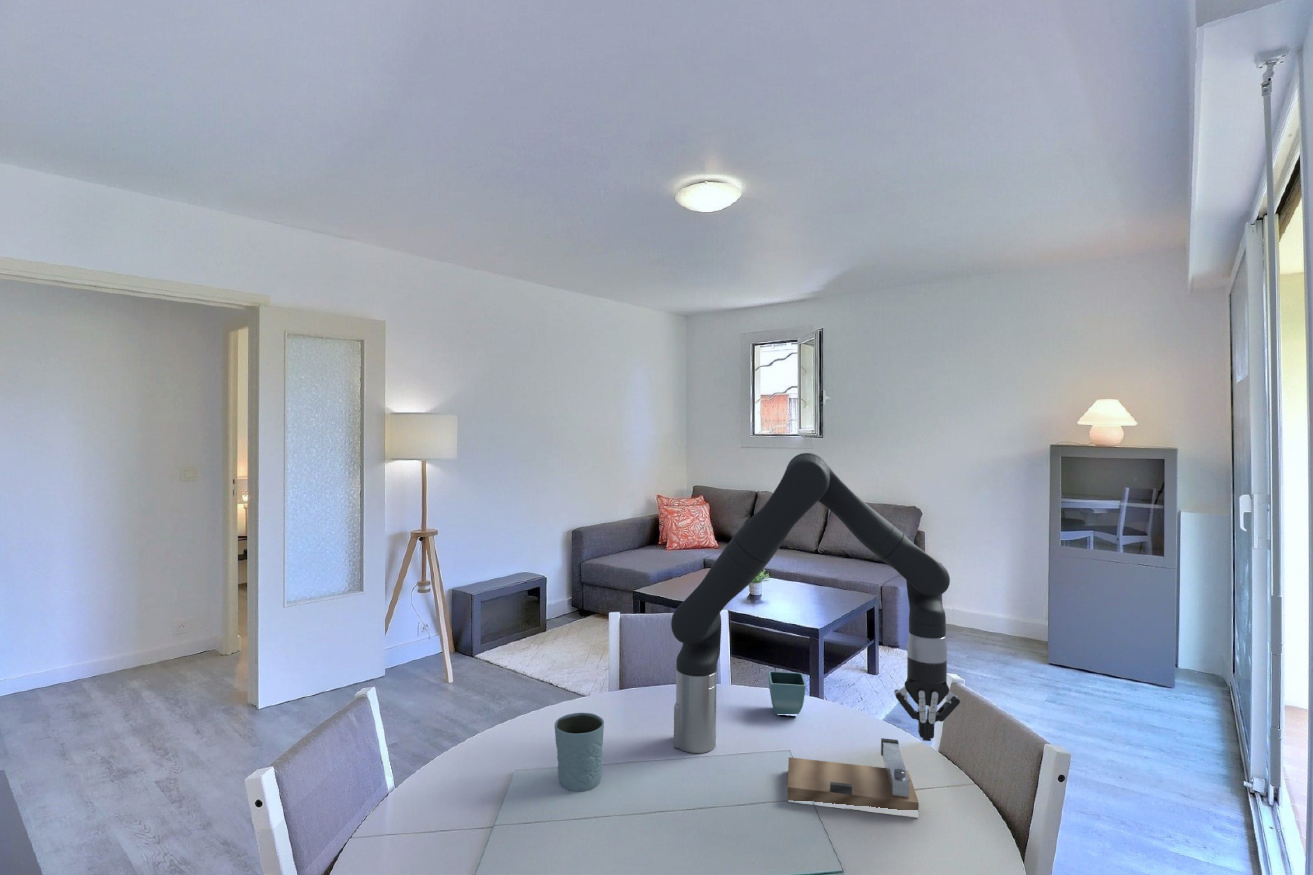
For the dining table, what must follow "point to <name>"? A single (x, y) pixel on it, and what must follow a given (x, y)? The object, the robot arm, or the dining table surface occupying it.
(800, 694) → the flower pot
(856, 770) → the wooden board with bar
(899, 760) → the hinged leg
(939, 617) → the robot arm
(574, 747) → the embossed green cup
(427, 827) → the dining table surface
